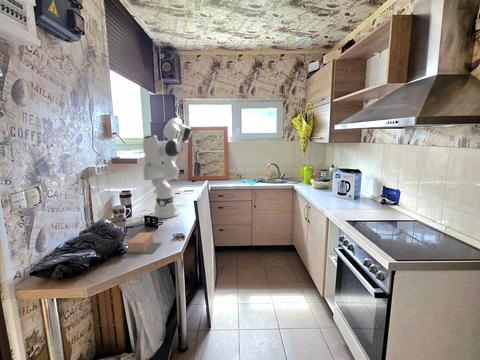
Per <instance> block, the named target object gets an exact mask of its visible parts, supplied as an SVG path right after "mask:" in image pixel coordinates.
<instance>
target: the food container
mask: <svg viewBox="0 0 480 360" xmlns="http://www.w3.org/2000/svg"><path fill="white" fill-rule="evenodd" d="M107 220H108V221H111V222H112V223H114V224H115V225H116V226H118V227H122V228H125V229H126V222H127V219H126V218H125V217H116V218H109V219H107Z"/></svg>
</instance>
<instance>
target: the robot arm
mask: <svg viewBox="0 0 480 360" xmlns="http://www.w3.org/2000/svg"><path fill="white" fill-rule="evenodd" d="M161 132H162V134H163V135H164V137H165V138H166V139H167V140H158V136H157V135H155V134H152V135H146V136H144V137H143V140H142V148H143V153H144V167H143V179H144V180H145V181H150V180H151V182H152V186H153V187H155V193H156V198H155V201H156V203H155V205H154V213H153V214H152V216H153V217H155V216H156V217H155V218H157V217H158V218H157V219H169V218H170V219H171V218H173V217H178V216H179V214H178V213H180V210H179V209H177V205H176V203H175V202H174V196H173V191H172V189H173V188H172V186H171V184H169V183H168V181H167V180H174V179H177V178H178V177H179V175H180V169H179V167H178V166H177V159H178V155H179V153H180V151H181V148H182V143H185V142H187V141H189V140H190V139H191V136H192V135H193V131H192V128H191V127H190V126H187V125H185V124H183V121H182V119H181V118H178V117H172V118H171V119H170V120H165V121H164V122H163V124H162V126H161ZM161 158H162V159H161ZM163 160H164V161H163Z"/></svg>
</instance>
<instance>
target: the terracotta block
mask: <svg viewBox="0 0 480 360" xmlns="http://www.w3.org/2000/svg"><path fill="white" fill-rule="evenodd" d="M152 243H155V234H154V232H138V233H137V234H136V235H135V236H133V237H132V238H131V239H130V240H129V241H128V242H127V244H128V252H144V251H145V250H146V249H147V248H148V247H149V246H150V245H151V244H152Z"/></svg>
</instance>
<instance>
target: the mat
mask: <svg viewBox="0 0 480 360" xmlns="http://www.w3.org/2000/svg"><path fill="white" fill-rule="evenodd" d="M162 244H163V242H153V243H152V244H151V245H150V246H149V247H148V248H147V249H146V250H145V251H144V252H127V253H125V254H124V255H154V254H155V252H156V251H157V250H158V249H159V247H161V245H162ZM126 245H127V246H128V243H127V244H126Z"/></svg>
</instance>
